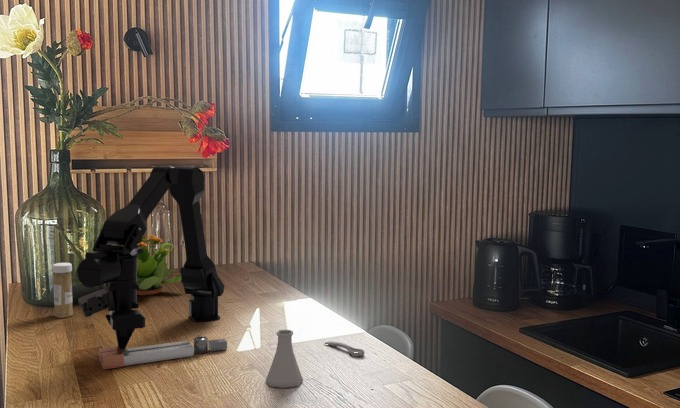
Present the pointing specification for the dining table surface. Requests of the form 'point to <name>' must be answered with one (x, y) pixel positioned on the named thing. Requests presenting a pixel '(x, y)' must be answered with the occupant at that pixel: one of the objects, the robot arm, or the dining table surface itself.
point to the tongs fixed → (154, 354)
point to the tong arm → (199, 347)
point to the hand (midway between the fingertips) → (121, 350)
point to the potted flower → (153, 267)
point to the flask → (284, 363)
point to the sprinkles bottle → (62, 289)
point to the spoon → (349, 348)
